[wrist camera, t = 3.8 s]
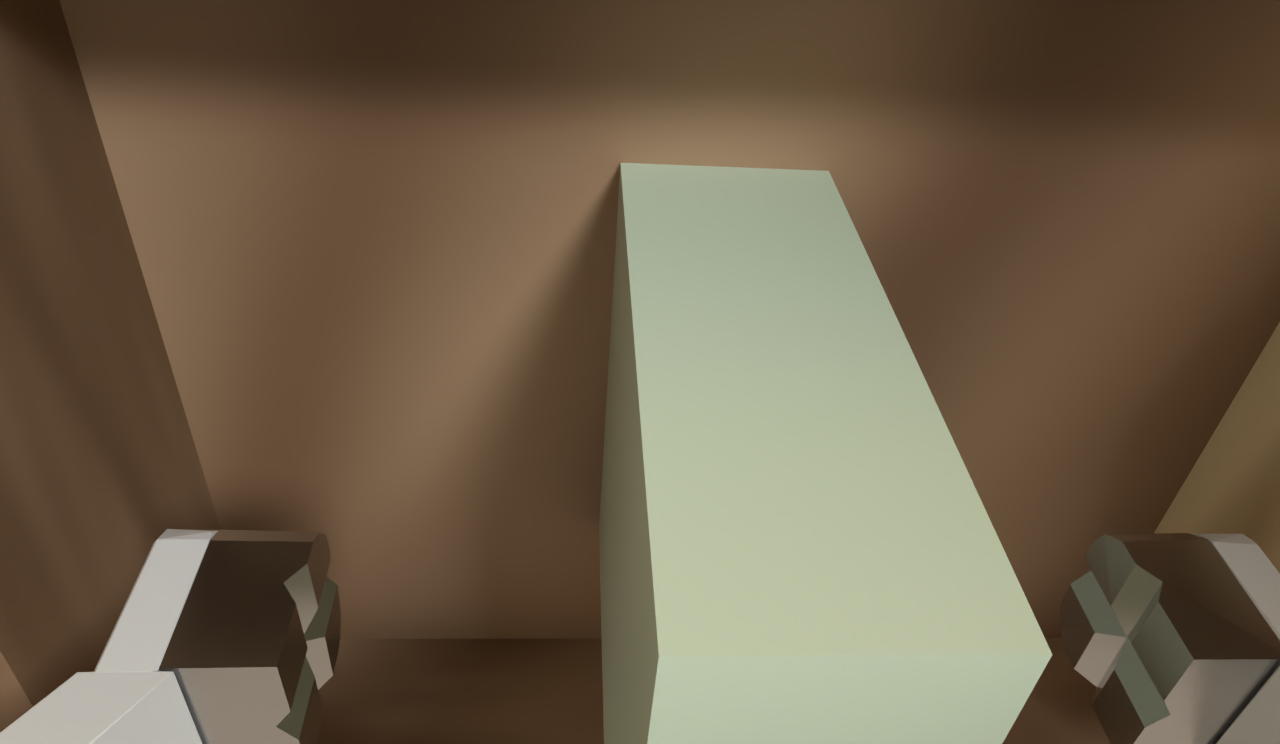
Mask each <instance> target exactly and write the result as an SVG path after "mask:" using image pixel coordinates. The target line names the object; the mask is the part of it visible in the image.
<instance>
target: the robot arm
mask: <svg viewBox="0 0 1280 744" xmlns="http://www.w3.org/2000/svg"><path fill="white" fill-rule="evenodd" d="M1085 559H1086V561H1087V563H1088V565H1089V567H1090V569H1091V571H1089V572H1088V573H1086V574H1085V575H1083V576H1082V577H1080V578H1079V579H1077V580H1076V581H1074V582H1073V583H1071V584H1070V586H1069V588H1068V590H1067V592H1066V594H1065V596H1064V598H1063V601H1062V603H1061V607H1060V631H1061V636H1062V640H1063V644H1064V648H1065V650H1066V652H1067V655H1068V657H1069V659H1070V661H1071V663H1072V665H1073V668H1074V669H1075V670H1076V671H1077V672H1079V673H1080V674H1081V675H1082V676H1084V677H1085V678H1086V679H1087V680H1089V681H1090V682H1091V683H1092V684H1094V685H1095V686H1096V691H1095V695H1094V699H1093V703H1092V707H1093V709H1094V711H1095V713H1096V715H1097V717H1098V719H1099V721H1100V723H1101V725H1102V727H1103V730H1104V732H1105V734H1106V736H1107V738H1108V740H1109V742H1110V744H1280V573H1279V572H1278V571H1277V569H1276V568H1275V567H1274V565H1273V564H1272V563H1271V562H1270V560H1269V559H1268V558H1267V556H1266V555H1265V554H1264V552H1263V551H1262V550H1261V548H1260V547H1259V546H1258V544H1256V543H1255V542H1254V541H1253V540H1251V539H1250V538H1248V537H1247V536H1245V535H1244V534H1189V533H1146V534H1104V535H1103V536H1101V537H1100V538H1098V539H1096V540H1095V541H1093V543H1092V545H1091V547H1090V549H1089V550H1088V552H1087V554H1086V556H1085ZM330 560H331V552H330V548H329V544H328V540H327V536H326V534H324V533H320V532H291V531H255V530H194V529H167V530H166V531H165V532H164V533H163V534H162V535H161V536H160V537H159V538H158V539H157V540H156V541H155V542H154V543H153V546H152V548H151V550H150V552H149V554H148V556H147V558H146V561H145V563H144V565H143V567H142V569H141V571H140V573H139V576H138V578H137V580H136V582H135V584H134V586H133V588H132V591H131V593H130V595H129V597H128V599H127V601H126V603H125V606H124V608H123V610H122V612H121V614H120V616H119V618H118V621H117V623H116V625H115V627H114V629H113V631H112V633H111V636H110V638H109V640H108V642H107V644H106V646H105V648H104V651H103V653H102V655H101V657H100V659H99V661H98V663H97V666H96V668H95V670H94V671H91V672H77V673H75V674H74V675H73V676H71V677H70V678H69V679H68V680H66V681H65V682H64V683H63V684H61V685H60V686H59V687H57V688H56V689H55V690H54V691H52V692H51V693H50V694H49V695H47V696H46V697H45V698H43V699H42V700H41V701H40V702H38V703H37V704H36V705H35V706H33V707H32V708H31V709H29V710H28V711H27V712H26V713H24V714H23V715H22V716H21V717H19V718H18V719H17V720H15V721H14V722H13V723H12V724H10V725H9V726H8V727H7V728H5V729H4V730H3V731H1V732H0V744H317V742H318V738H319V734H320V730H321V725H322V721H323V717H324V713H323V709H322V705H321V701H320V696H319V692H318V690H319V689H320V688H321V687H322V686H323V685H324V684H325V683H326V682H327V681H328V680H329V679H330V678H331V677H332V676H333V674H334V669H335V664H336V660H337V655H338V650H339V640H340V630H341V605H340V597H339V591H338V586H337V584H336V583H334V582H333V581H332V580H330V579H329V578H328V577H327V576H326V575H327V571H328V567H329V563H330Z"/></svg>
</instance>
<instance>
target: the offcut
mask: <svg viewBox="0 0 1280 744" xmlns="http://www.w3.org/2000/svg"><path fill="white" fill-rule="evenodd" d="M1154 533H1189V534H1244V535H1245V536H1247V537H1248V538H1250V539H1251V540H1253V541H1254V542H1255V543H1256V544H1258V546H1259V547H1260V548H1261V550H1262V551H1263V552H1264V554H1265V555H1266V556H1267V558H1268V559H1269V560H1270V562H1271V563H1272V564H1273V565H1274V567H1275V568H1276V569H1277V571H1278V572H1279V573H1280V322H1279V324H1278V326H1277V327H1276V329H1275V331H1274V332H1273V334H1272V336H1271V337H1270V339H1269V341H1268V342H1267V344H1266V346H1265V347H1264V349H1263V351H1262V352H1261V354H1260V356H1259V358H1258V359H1257V361H1256V363H1255V364H1254V366H1253V368H1252V369H1251V371H1250V373H1249V374H1248V376H1247V378H1246V379H1245V381H1244V383H1243V384H1242V386H1241V388H1240V389H1239V391H1238V393H1237V394H1236V396H1235V398H1234V400H1233V401H1232V403H1231V405H1230V406H1229V408H1228V410H1227V411H1226V413H1225V415H1224V416H1223V418H1222V420H1221V421H1220V423H1219V425H1218V426H1217V428H1216V430H1215V431H1214V433H1213V435H1212V436H1211V438H1210V440H1209V441H1208V443H1207V445H1206V447H1205V448H1204V450H1203V452H1202V453H1201V455H1200V457H1199V458H1198V460H1197V462H1196V463H1195V465H1194V467H1193V468H1192V470H1191V472H1190V473H1189V475H1188V477H1187V478H1186V480H1185V482H1184V483H1183V485H1182V487H1181V489H1180V490H1179V492H1178V494H1177V495H1176V497H1175V499H1174V500H1173V502H1172V504H1171V505H1170V507H1169V509H1168V510H1167V512H1166V514H1165V515H1164V517H1163V519H1162V520H1161V522H1160V524H1159V525H1158V527H1157V529H1156V530H1155V532H1154Z"/></svg>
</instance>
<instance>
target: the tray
mask: <svg viewBox="0 0 1280 744" xmlns="http://www.w3.org/2000/svg"><path fill="white" fill-rule="evenodd" d="M620 163H642V164H667V165H692V166H718V167H743V168H768V169H794V170H819V171H829V172H830V174H831V177H832V179H833V181H834V183H835V185H836V187H837V190H838V192H839V194H840V196H841V198H842V200H843V203H844V205H845V207H846V209H847V211H848V213H849V216H850V218H851V220H852V222H853V224H854V226H855V229H856V231H857V233H858V235H859V237H860V239H861V242H862V244H863V246H864V248H865V250H866V252H867V254H868V257H869V259H870V261H871V263H872V265H873V267H874V270H875V272H876V274H877V276H878V278H879V280H880V283H881V285H882V287H883V289H884V291H885V293H886V296H887V298H888V300H889V302H890V304H891V306H892V309H893V311H894V313H895V315H896V317H897V319H898V322H899V324H900V326H901V328H902V330H903V332H904V335H905V337H906V339H907V341H908V343H909V345H910V348H911V350H912V352H913V354H914V356H915V358H916V360H917V363H918V365H919V367H920V369H921V371H922V373H923V376H924V378H925V380H926V382H927V384H928V386H929V389H930V391H931V393H932V395H933V397H934V399H935V402H936V404H937V406H938V408H939V410H940V412H941V415H942V417H943V419H944V421H945V423H946V425H947V428H948V430H949V432H950V434H951V436H952V438H953V441H954V443H955V445H956V447H957V449H958V451H959V454H960V456H961V458H962V460H963V462H964V464H965V466H966V469H967V471H968V473H969V475H970V477H971V479H972V482H973V484H974V486H975V488H976V490H977V492H978V495H979V497H980V499H981V501H982V503H983V505H984V508H985V510H986V512H987V514H988V516H989V518H990V521H991V523H992V525H993V527H994V529H995V531H996V534H997V536H998V538H999V540H1000V542H1001V544H1002V547H1003V549H1004V551H1005V553H1006V555H1007V557H1008V560H1009V562H1010V564H1011V566H1012V568H1013V570H1014V572H1015V575H1016V577H1017V579H1018V581H1019V583H1020V585H1021V588H1022V590H1023V592H1024V594H1025V596H1026V598H1027V601H1028V603H1029V605H1030V607H1031V609H1032V611H1033V614H1034V616H1035V618H1036V620H1037V622H1038V624H1039V627H1040V629H1041V631H1042V633H1043V635H1044V637H1045V640H1046V642H1047V644H1048V646H1049V648H1050V650H1051V653H1052V656H1051V658H1050V660H1049V662H1048V664H1047V665H1046V667H1045V669H1044V671H1043V672H1042V674H1041V676H1040V678H1039V680H1038V681H1037V683H1036V685H1035V687H1034V688H1033V690H1032V692H1031V694H1030V695H1029V697H1028V699H1027V701H1026V703H1025V704H1024V706H1023V708H1022V710H1021V711H1020V713H1019V715H1018V717H1017V719H1016V720H1015V722H1014V724H1013V726H1012V727H1011V729H1010V731H1009V733H1008V735H1007V736H1006V738H1005V740H1004V742H1003V743H1002V744H1110V742H1109V740H1108V738H1107V736H1106V734H1105V732H1104V730H1103V727H1102V725H1101V723H1100V721H1099V719H1098V717H1097V715H1096V713H1095V711H1094V709H1093V707H1092V703H1093V699H1094V695H1095V691H1096V686H1095V685H1094V684H1092V683H1091V682H1090V681H1089V680H1087V679H1086V678H1085V677H1084V676H1082V675H1081V674H1080V673H1079V672H1077V671H1076V670H1075V669H1074V668H1073V665H1072V663H1071V661H1070V659H1069V657H1068V655H1067V652H1066V650H1065V648H1064V644H1063V640H1062V636H1061V631H1060V607H1061V603H1062V601H1063V598H1064V596H1065V594H1066V592H1067V590H1068V588H1069V586H1070V584H1071V583H1073V582H1074V581H1076V580H1077V579H1079V578H1080V577H1082V576H1083V575H1085V574H1086V573H1088V572H1089V571H1091V569H1090V567H1089V565H1088V563H1087V561H1086V559H1085V556H1086V554H1087V552H1088V550H1089V549H1090V547H1091V545H1092V543H1093V541H1095V540H1096V539H1098V538H1100V537H1101V536H1103V535H1104V534H1146V533H1154V532H1155V530H1156V529H1157V527H1158V525H1159V524H1160V522H1161V520H1162V519H1163V517H1164V515H1165V514H1166V512H1167V510H1168V509H1169V507H1170V505H1171V504H1172V502H1173V500H1174V499H1175V497H1176V495H1177V494H1178V492H1179V490H1180V489H1181V487H1182V485H1183V483H1184V482H1185V480H1186V478H1187V477H1188V475H1189V473H1190V472H1191V470H1192V468H1193V467H1194V465H1195V463H1196V462H1197V460H1198V458H1199V457H1200V455H1201V453H1202V452H1203V450H1204V448H1205V447H1206V445H1207V443H1208V441H1209V440H1210V438H1211V436H1212V435H1213V433H1214V431H1215V430H1216V428H1217V426H1218V425H1219V423H1220V421H1221V420H1222V418H1223V416H1224V415H1225V413H1226V411H1227V410H1228V408H1229V406H1230V405H1231V403H1232V401H1233V400H1234V398H1235V396H1236V394H1237V393H1238V391H1239V389H1240V388H1241V386H1242V384H1243V383H1244V381H1245V379H1246V378H1247V376H1248V374H1249V373H1250V371H1251V369H1252V368H1253V366H1254V364H1255V363H1256V361H1257V359H1258V358H1259V356H1260V354H1261V352H1262V351H1263V349H1264V347H1265V346H1266V344H1267V342H1268V341H1269V339H1270V337H1271V336H1272V334H1273V332H1274V331H1275V329H1276V327H1277V326H1278V324H1279V322H1280V0H0V732H1V731H3V730H4V729H5V728H7V727H8V726H9V725H10V724H12V723H13V722H14V721H15V720H17V719H18V718H19V717H21V716H22V715H23V714H24V713H26V712H27V711H28V710H29V709H31V708H32V707H33V706H35V705H36V704H37V703H38V702H40V701H41V700H42V699H43V698H45V697H46V696H47V695H49V694H50V693H51V692H52V691H54V690H55V689H56V688H57V687H59V686H60V685H61V684H63V683H64V682H65V681H66V680H68V679H69V678H70V677H71V676H73V675H74V674H75V673H77V672H91V671H94V670H95V668H96V666H97V663H98V661H99V659H100V657H101V655H102V653H103V651H104V648H105V646H106V644H107V642H108V640H109V638H110V636H111V633H112V631H113V629H114V627H115V625H116V623H117V621H118V618H119V616H120V614H121V612H122V610H123V608H124V606H125V603H126V601H127V599H128V597H129V595H130V593H131V591H132V588H133V586H134V584H135V582H136V580H137V578H138V576H139V573H140V571H141V569H142V567H143V565H144V563H145V561H146V558H147V556H148V554H149V552H150V550H151V548H152V546H153V543H154V542H155V541H156V540H157V539H158V538H159V537H160V536H161V535H162V534H163V533H164V532H165V531H166V530H167V529H194V530H255V531H291V532H320V533H324V534H326V536H327V540H328V544H329V548H330V552H331V560H330V563H329V567H328V571H327V575H326V576H327V577H328V578H329V579H330V580H332V581H333V582H334V583H336V584H337V586H338V591H339V597H340V605H341V630H340V640H339V650H338V655H337V660H336V664H335V669H334V674H333V676H332V677H331V678H330V679H329V680H328V681H327V682H326V683H325V684H324V685H323V686H322V687H321V688H320V689H319V690H318V692H319V696H320V701H321V705H322V709H323V713H324V717H323V721H322V725H321V730H320V734H319V738H318V742H317V744H604V726H603V682H602V637H601V593H600V548H599V518H600V501H601V484H602V467H603V450H604V433H605V416H606V399H607V382H608V365H609V348H610V331H611V314H612V297H613V280H614V263H615V246H616V229H617V212H618V195H619V177H620Z"/></svg>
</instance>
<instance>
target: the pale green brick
mask: <svg viewBox="0 0 1280 744" xmlns="http://www.w3.org/2000/svg"><path fill="white" fill-rule="evenodd" d="M599 548H600V593H601V637H602V682H603V726H604V744H1002V743H1003V742H1004V740H1005V738H1006V736H1007V735H1008V733H1009V731H1010V729H1011V727H1012V726H1013V724H1014V722H1015V720H1016V719H1017V717H1018V715H1019V713H1020V711H1021V710H1022V708H1023V706H1024V704H1025V703H1026V701H1027V699H1028V697H1029V695H1030V694H1031V692H1032V690H1033V688H1034V687H1035V685H1036V683H1037V681H1038V680H1039V678H1040V676H1041V674H1042V672H1043V671H1044V669H1045V667H1046V665H1047V664H1048V662H1049V660H1050V658H1051V656H1052V653H1051V650H1050V648H1049V646H1048V644H1047V642H1046V640H1045V637H1044V635H1043V633H1042V631H1041V629H1040V627H1039V624H1038V622H1037V620H1036V618H1035V616H1034V614H1033V611H1032V609H1031V607H1030V605H1029V603H1028V601H1027V598H1026V596H1025V594H1024V592H1023V590H1022V588H1021V585H1020V583H1019V581H1018V579H1017V577H1016V575H1015V572H1014V570H1013V568H1012V566H1011V564H1010V562H1009V560H1008V557H1007V555H1006V553H1005V551H1004V549H1003V547H1002V544H1001V542H1000V540H999V538H998V536H997V534H996V531H995V529H994V527H993V525H992V523H991V521H990V518H989V516H988V514H987V512H986V510H985V508H984V505H983V503H982V501H981V499H980V497H979V495H978V492H977V490H976V488H975V486H974V484H973V482H972V479H971V477H970V475H969V473H968V471H967V469H966V466H965V464H964V462H963V460H962V458H961V456H960V454H959V451H958V449H957V447H956V445H955V443H954V441H953V438H952V436H951V434H950V432H949V430H948V428H947V425H946V423H945V421H944V419H943V417H942V415H941V412H940V410H939V408H938V406H937V404H936V402H935V399H934V397H933V395H932V393H931V391H930V389H929V386H928V384H927V382H926V380H925V378H924V376H923V373H922V371H921V369H920V367H919V365H918V363H917V360H916V358H915V356H914V354H913V352H912V350H911V348H910V345H909V343H908V341H907V339H906V337H905V335H904V332H903V330H902V328H901V326H900V324H899V322H898V319H897V317H896V315H895V313H894V311H893V309H892V306H891V304H890V302H889V300H888V298H887V296H886V293H885V291H884V289H883V287H882V285H881V283H880V280H879V278H878V276H877V274H876V272H875V270H874V267H873V265H872V263H871V261H870V259H869V257H868V254H867V252H866V250H865V248H864V246H863V244H862V242H861V239H860V237H859V235H858V233H857V231H856V229H855V226H854V224H853V222H852V220H851V218H850V216H849V213H848V211H847V209H846V207H845V205H844V203H843V200H842V198H841V196H840V194H839V192H838V190H837V187H836V185H835V183H834V181H833V179H832V177H831V174H830V172H829V171H819V170H794V169H768V168H743V167H718V166H692V165H667V164H642V163H620V177H619V195H618V212H617V229H616V246H615V263H614V280H613V297H612V314H611V331H610V348H609V365H608V382H607V399H606V416H605V433H604V450H603V467H602V484H601V501H600V518H599Z"/></svg>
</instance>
